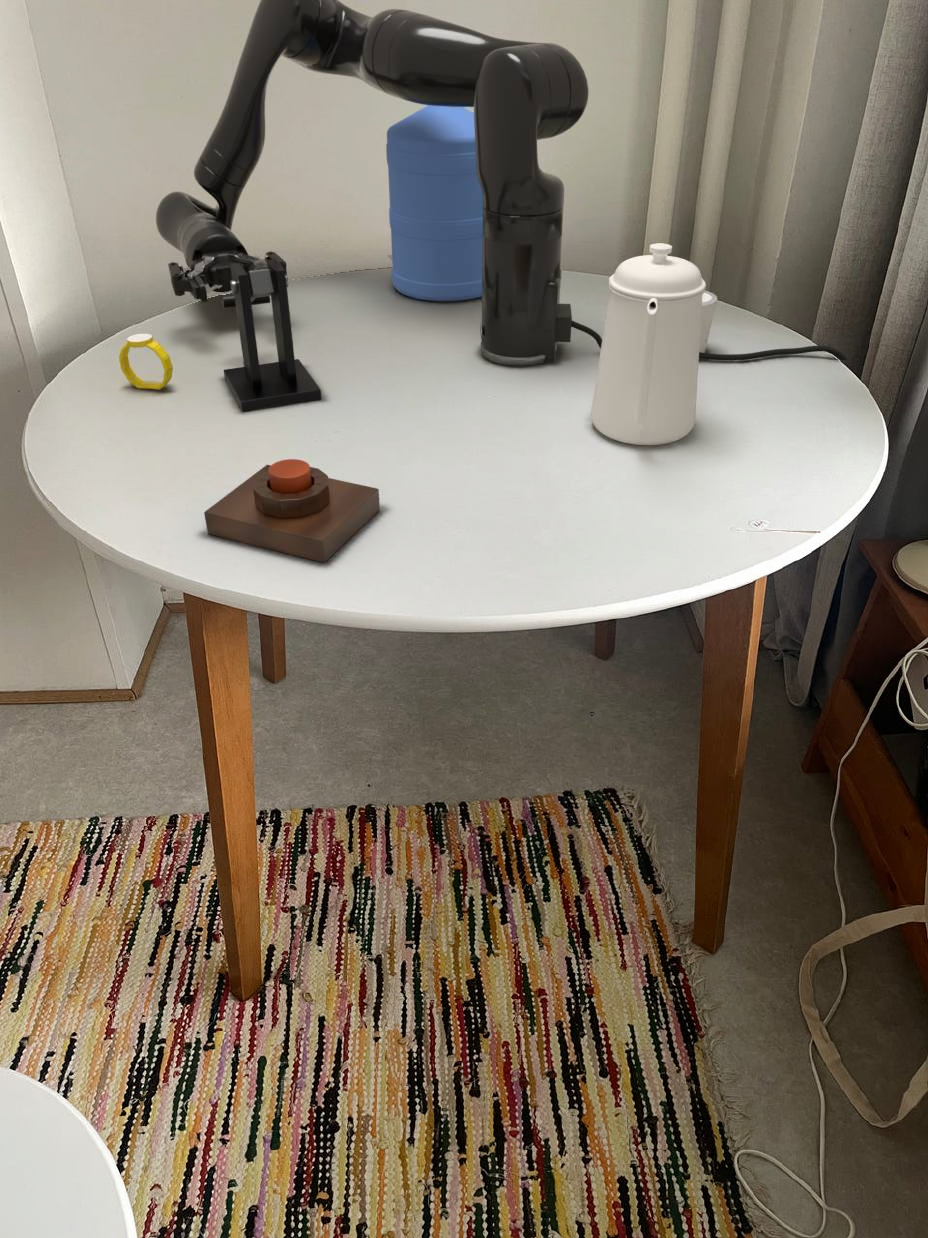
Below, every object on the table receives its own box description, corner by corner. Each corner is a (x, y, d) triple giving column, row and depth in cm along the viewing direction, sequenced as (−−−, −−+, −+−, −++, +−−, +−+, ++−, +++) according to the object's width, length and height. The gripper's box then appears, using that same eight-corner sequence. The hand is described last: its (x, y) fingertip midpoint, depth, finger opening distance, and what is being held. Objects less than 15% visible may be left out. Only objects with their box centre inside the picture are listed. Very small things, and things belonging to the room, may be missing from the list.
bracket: (224, 379, 117) (206, 258, 109) (299, 368, 120) (287, 250, 112) (242, 411, 110) (224, 285, 102) (321, 399, 112) (310, 275, 104)
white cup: (675, 338, 128) (681, 282, 124) (720, 352, 124) (729, 295, 120) (642, 352, 124) (648, 295, 120) (688, 366, 120) (695, 308, 116)
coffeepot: (577, 477, 97) (590, 282, 86) (600, 379, 117) (614, 210, 106) (691, 488, 95) (719, 289, 84) (695, 386, 115) (718, 215, 104)
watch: (180, 385, 116) (171, 335, 112) (167, 395, 113) (158, 344, 110) (134, 380, 117) (124, 330, 113) (121, 389, 115) (110, 338, 111)
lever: (224, 313, 118) (219, 292, 118) (269, 307, 120) (265, 286, 119) (238, 296, 106) (233, 272, 105) (288, 290, 108) (284, 267, 107)
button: (319, 481, 89) (317, 463, 88) (297, 499, 86) (295, 480, 85) (284, 473, 90) (282, 455, 89) (262, 491, 87) (260, 473, 86)
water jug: (472, 309, 137) (472, 79, 120) (372, 294, 142) (359, 72, 126) (516, 278, 148) (522, 63, 132) (422, 265, 154) (417, 57, 137)
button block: (380, 509, 92) (377, 470, 90) (324, 563, 84) (320, 522, 82) (269, 484, 96) (264, 446, 94) (207, 533, 88) (200, 493, 86)
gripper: (155, 231, 129) (174, 264, 117) (263, 220, 133) (293, 251, 121) (165, 289, 133) (185, 328, 121) (270, 276, 138) (299, 312, 125)
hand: (239, 289), depth 121 cm, fingers open, 8 cm apart
